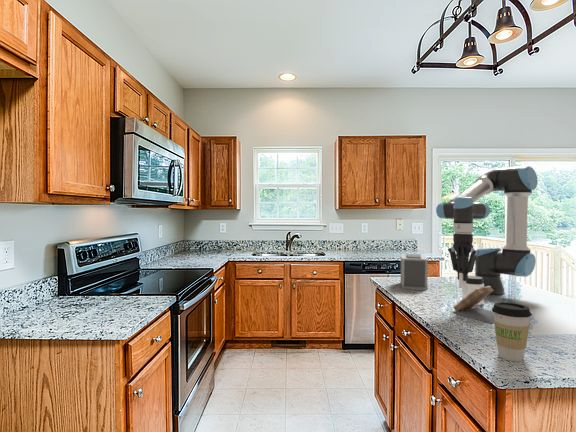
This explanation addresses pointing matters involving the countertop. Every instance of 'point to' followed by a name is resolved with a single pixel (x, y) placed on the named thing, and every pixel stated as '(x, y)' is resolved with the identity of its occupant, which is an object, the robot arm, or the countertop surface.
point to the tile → (473, 298)
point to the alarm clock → (414, 272)
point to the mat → (478, 314)
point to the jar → (473, 286)
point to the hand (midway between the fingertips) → (462, 287)
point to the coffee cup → (511, 329)
